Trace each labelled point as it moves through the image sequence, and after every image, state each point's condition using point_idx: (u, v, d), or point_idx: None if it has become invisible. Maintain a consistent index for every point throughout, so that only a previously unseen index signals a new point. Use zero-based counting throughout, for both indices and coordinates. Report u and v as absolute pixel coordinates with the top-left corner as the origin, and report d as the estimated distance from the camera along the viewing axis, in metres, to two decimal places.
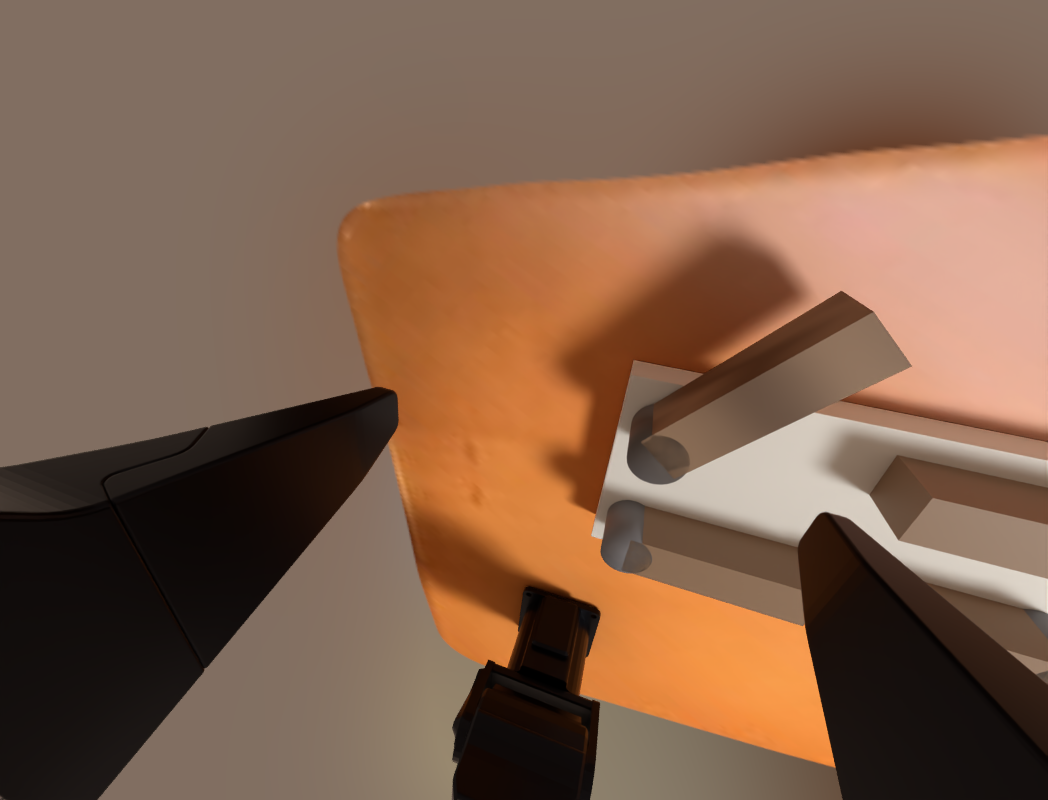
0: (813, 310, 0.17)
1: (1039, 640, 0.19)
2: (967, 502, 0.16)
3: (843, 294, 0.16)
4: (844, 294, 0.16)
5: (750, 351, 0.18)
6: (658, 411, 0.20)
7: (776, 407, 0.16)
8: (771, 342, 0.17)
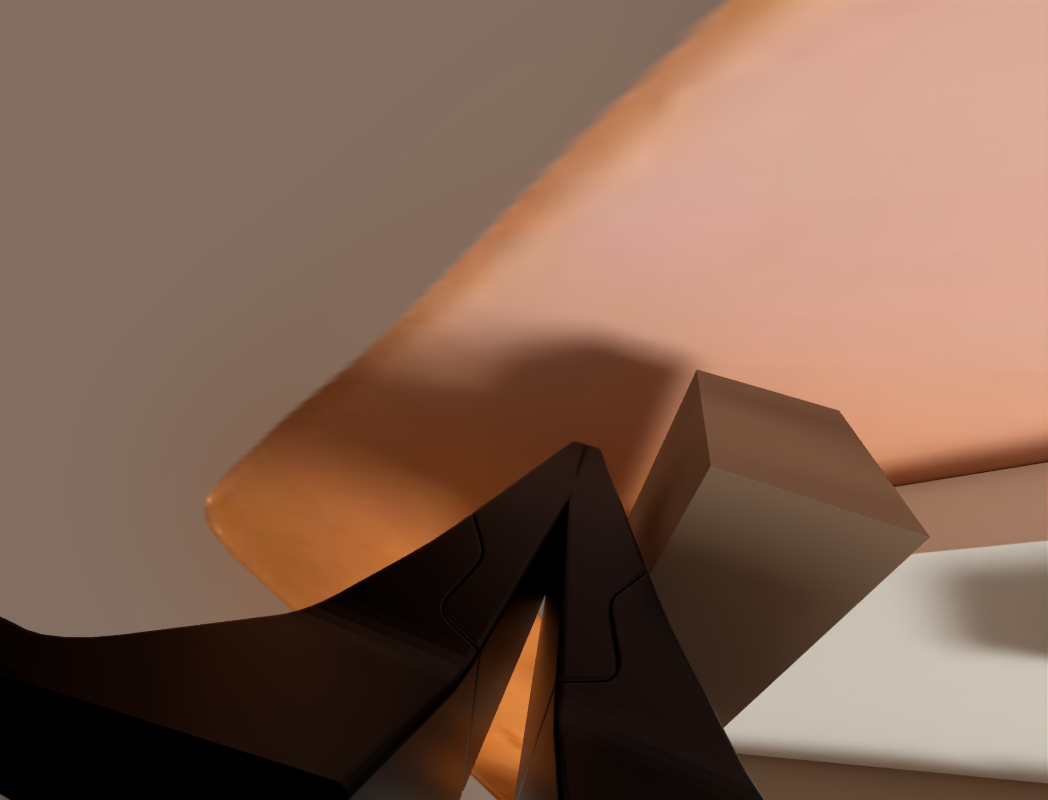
0: (674, 423, 0.08)
1: None
2: None
3: (696, 383, 0.07)
4: (697, 382, 0.07)
5: None
6: None
7: (701, 673, 0.07)
8: (641, 509, 0.09)
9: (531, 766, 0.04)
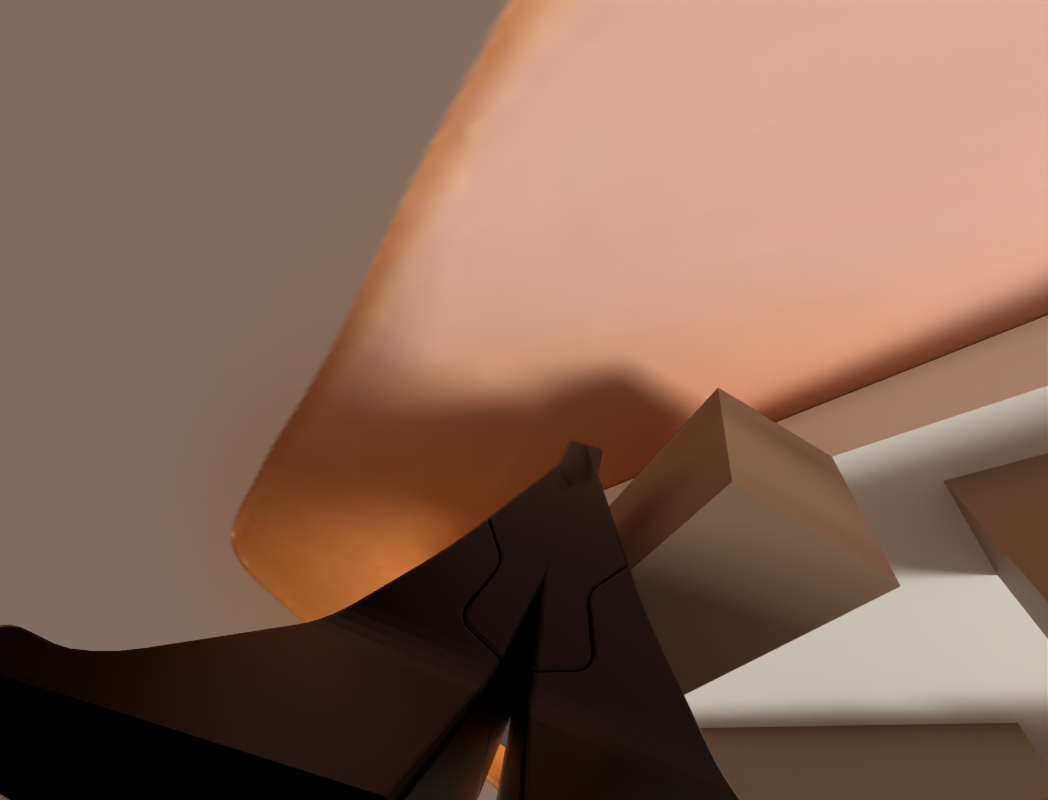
0: (681, 433, 0.08)
1: None
2: None
3: (717, 401, 0.08)
4: (717, 400, 0.08)
5: None
6: None
7: None
8: (627, 504, 0.09)
9: (510, 757, 0.04)
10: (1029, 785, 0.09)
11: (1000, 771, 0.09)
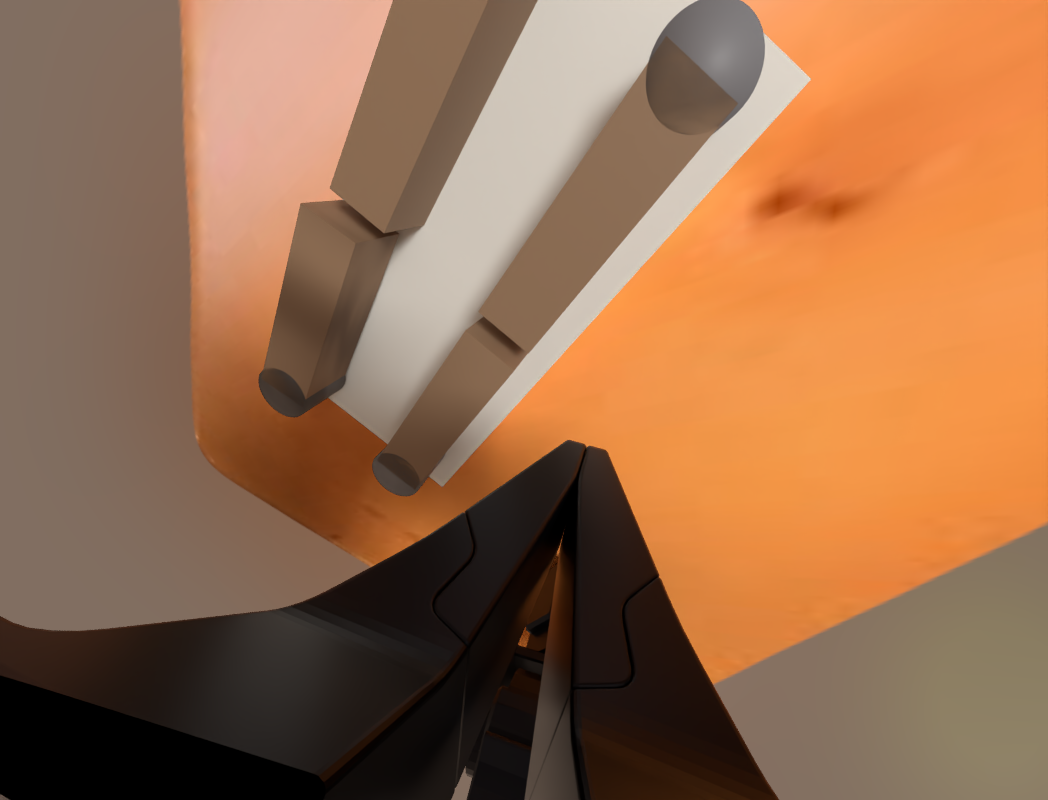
0: None
1: None
2: (345, 154, 0.14)
3: (345, 201, 0.17)
4: None
5: None
6: None
7: (310, 314, 0.18)
8: None
9: (544, 772, 0.04)
10: None
11: None
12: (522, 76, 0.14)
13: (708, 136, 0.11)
